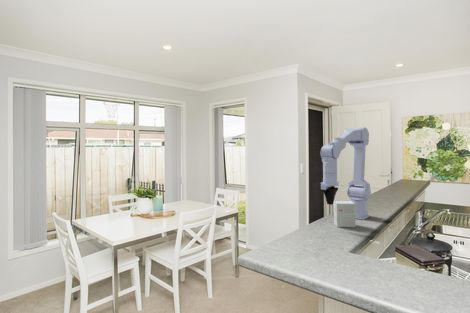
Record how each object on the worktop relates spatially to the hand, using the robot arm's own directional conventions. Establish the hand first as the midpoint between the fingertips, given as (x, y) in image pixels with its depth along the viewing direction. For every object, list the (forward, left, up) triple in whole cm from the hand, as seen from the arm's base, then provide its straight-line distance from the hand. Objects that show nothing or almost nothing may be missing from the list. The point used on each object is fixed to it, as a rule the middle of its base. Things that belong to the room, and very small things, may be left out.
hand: (330, 204), depth 124 cm
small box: (-7, +3, -11) cm, 13 cm away
